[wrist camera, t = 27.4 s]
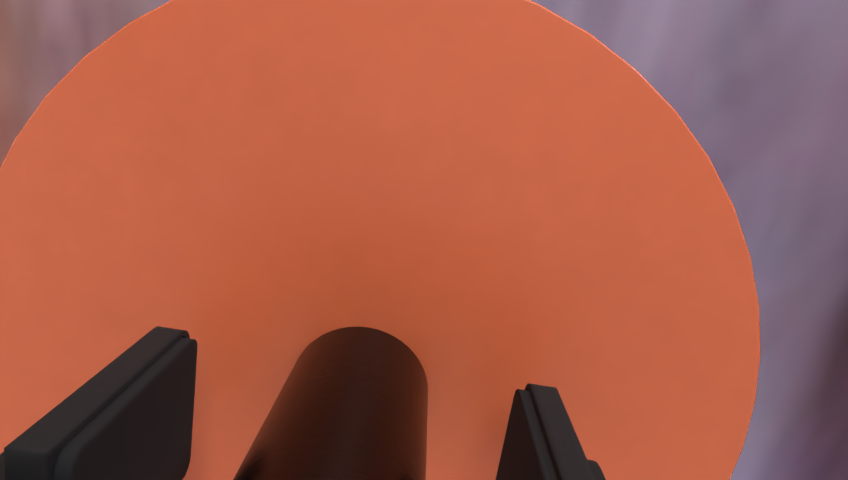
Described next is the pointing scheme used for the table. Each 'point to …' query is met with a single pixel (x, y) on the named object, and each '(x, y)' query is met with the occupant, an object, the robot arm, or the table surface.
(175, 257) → the lid
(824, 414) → the table surface
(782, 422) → the table surface
